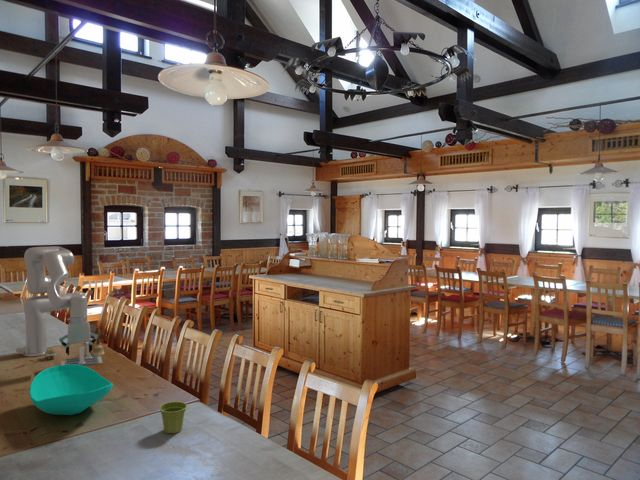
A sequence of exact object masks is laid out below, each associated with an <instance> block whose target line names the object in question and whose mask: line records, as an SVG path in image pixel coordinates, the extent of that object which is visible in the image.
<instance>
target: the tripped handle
mask: <svg viewBox="0 0 640 480" xmlns="http://www.w3.org/2000/svg"><path fill="white" fill-rule="evenodd" d="M85 348H86V346H79V347H78V350H79V352H78V353H79V357H80V362H78V364H81V363H85V362H84V356H85Z"/></svg>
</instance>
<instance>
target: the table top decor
mask: <svg viewBox="0 0 640 480" xmlns="http://www.w3.org/2000/svg"><path fill="white" fill-rule="evenodd" d="M29 386H30V387H29V393H28V394H29V396H30V400H31V402H32V404H33V405H34V406H35V407H36V408H38V409H39V410H41V411H42V412H45V413H47V414H50V415H59V416H60V415H61V416H73V415H77V414H81V413H82V412H83V411H85V410H86V409H88V408H89V407H91V406H93V405H95V404H96V403H98V402H99V401H102V399H104V398H105V397H106V396H107V395H108V394H109V393H110V392H111V391H112V389H113V387H114V383H112V382H111V381H110V380H108V379H106V378H105V377H103V376H102V375H101V374H99V373H98V372H97V371H96V370H94V369H93V368H90V367H88V366H87V365H85V366H82V365H77V364H66V365H60V364H59V365H54V366H52V367H48V368H46V369H44V370H42V371H40V372H39V373H38V374H37V375H35V377H33V379H32V382H31V384H30V385H29Z"/></svg>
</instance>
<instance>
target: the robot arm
mask: <svg viewBox="0 0 640 480" xmlns="http://www.w3.org/2000/svg"><path fill="white" fill-rule="evenodd" d="M23 259H24V263H25V267H26V290H27V292H28V294H30V295H35V296H31V297H28V298H26V299H24V301H23V303H22V305H23V306H22V307H23V311H24V316H25V317H24V318H25V346H23V347H16V349H15V350H16V352H18V353H22V355H23V356H24V357H39V356H44V355H46V354H45V351H47V349H48V350H50V348H47V321H46V317H44V316H43V315H42V314H43V313H48V312H49V313H50V312H55V311H57V310H66V309H69V313H70V315H69V316H70V317H68V318H66V321H67V322H68V326H67V334H65V335H63V336H62V337H60V338H58V340H59V342H60V343H61V345H62V346H63V347H65V354H67V356H70V345H71V344H83V343H86V342H88V343H89V353H91V354H92V352H93V344H94V343H95V342H97V338H98V335H97V334H95V333H94V332H91V326H90V321H89V320H88V297H87V295H85V294H81V293H79V292H67V293H61V284H62V283H64V282H65V281H66V280H67V279H69V277H70V272H69V270H68V268H67V267H70V266H72V265H73V264H74V263H75V256H74V254H73V253H72V251H71V250H69V249H67V248H64V247H63V246H59V245H58V246H56V245H54V246H52V245H51V246H35V247H29V248H27V249H26V250H25V252H24V257H23ZM46 270H47V272H48V275H46ZM38 294H39V295H38ZM40 294H42V295H40ZM44 294H45V295H44ZM91 337H94V338H93V339H91ZM66 339H67V342H65V341H64V340H66Z"/></svg>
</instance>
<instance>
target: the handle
mask: <svg viewBox="0 0 640 480" xmlns="http://www.w3.org/2000/svg"><path fill="white" fill-rule="evenodd" d="M85 346H86V356H87V357H86V358H92V357H91V356H92V352H91V353H89V343H88V342H85Z"/></svg>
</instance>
